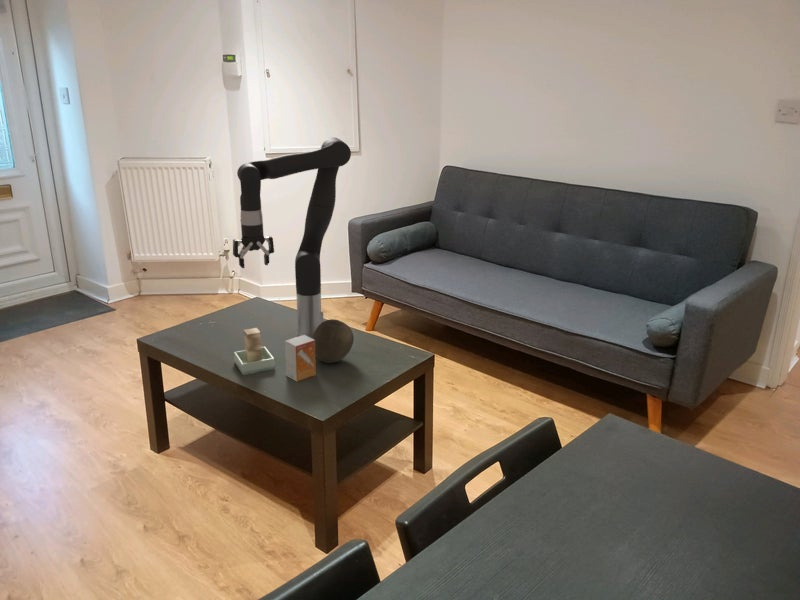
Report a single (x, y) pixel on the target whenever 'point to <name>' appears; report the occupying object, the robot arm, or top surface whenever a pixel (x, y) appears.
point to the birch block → (252, 345)
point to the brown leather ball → (332, 340)
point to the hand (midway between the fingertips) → (254, 266)
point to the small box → (300, 357)
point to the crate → (256, 366)
